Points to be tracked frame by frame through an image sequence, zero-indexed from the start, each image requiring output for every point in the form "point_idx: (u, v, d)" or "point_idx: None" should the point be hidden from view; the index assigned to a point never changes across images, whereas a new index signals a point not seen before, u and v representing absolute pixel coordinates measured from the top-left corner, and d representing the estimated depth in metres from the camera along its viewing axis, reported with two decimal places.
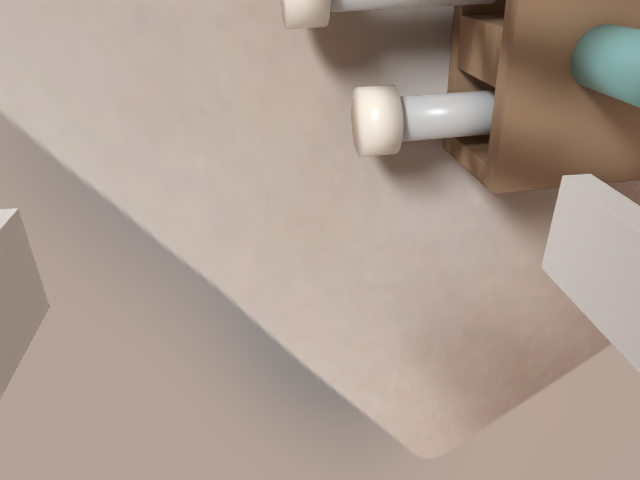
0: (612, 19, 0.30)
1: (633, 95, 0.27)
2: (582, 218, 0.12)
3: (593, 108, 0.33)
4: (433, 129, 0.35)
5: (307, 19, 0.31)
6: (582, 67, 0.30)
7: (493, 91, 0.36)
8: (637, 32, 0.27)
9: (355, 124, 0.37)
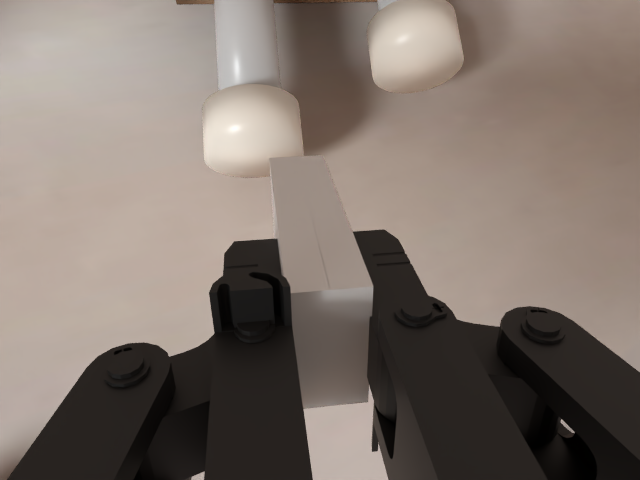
0: None
1: None
2: None
3: None
4: None
5: (289, 117, 0.24)
6: None
7: None
8: None
9: (419, 77, 0.28)
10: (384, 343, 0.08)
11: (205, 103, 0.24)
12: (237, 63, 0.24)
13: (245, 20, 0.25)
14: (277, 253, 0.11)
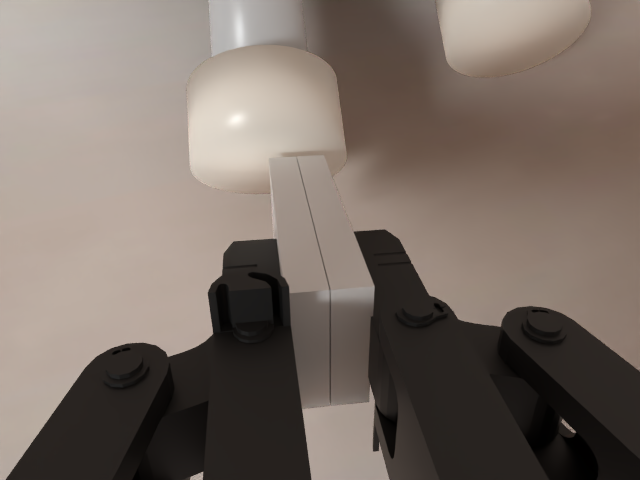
0: None
1: None
2: None
3: None
4: None
5: (326, 99, 0.15)
6: None
7: None
8: None
9: (515, 52, 0.18)
10: (386, 343, 0.08)
11: (190, 79, 0.15)
12: (240, 16, 0.15)
13: None
14: (276, 253, 0.11)
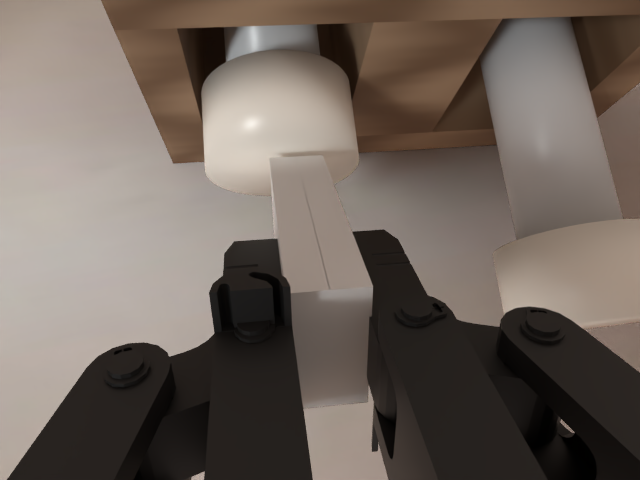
0: None
1: None
2: None
3: None
4: (592, 150, 0.15)
5: (339, 103, 0.15)
6: None
7: None
8: None
9: (585, 327, 0.16)
10: (385, 343, 0.08)
11: (206, 83, 0.15)
12: None
13: None
14: (277, 253, 0.11)
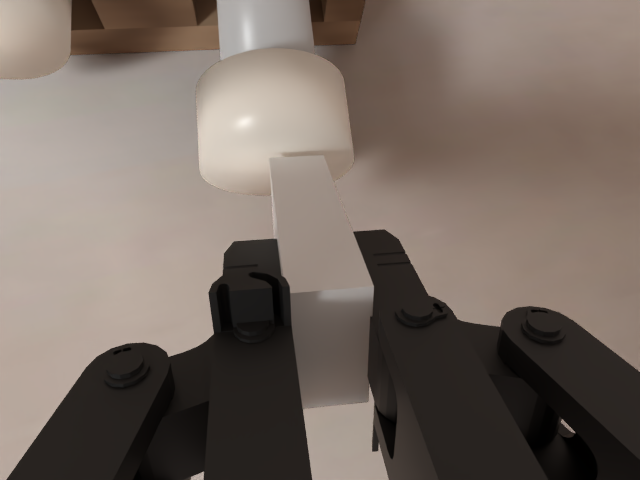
0: None
1: None
2: None
3: None
4: None
5: None
6: None
7: None
8: None
9: None
10: (385, 343, 0.08)
11: None
12: None
13: None
14: (277, 253, 0.11)
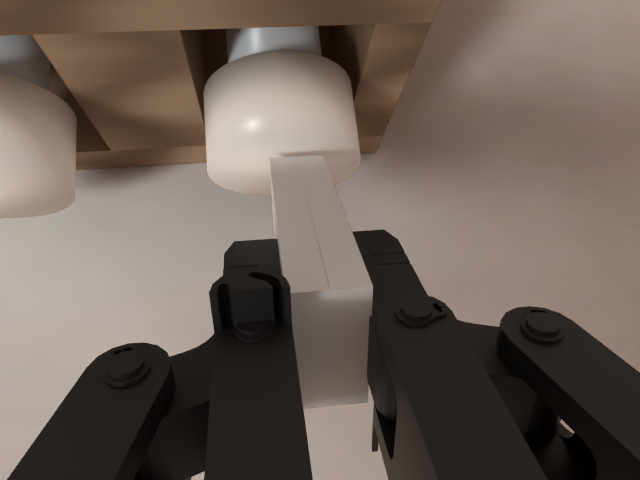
0: None
1: None
2: None
3: None
4: None
5: (24, 123, 0.14)
6: None
7: None
8: None
9: None
10: (385, 343, 0.08)
11: None
12: None
13: None
14: (277, 253, 0.11)
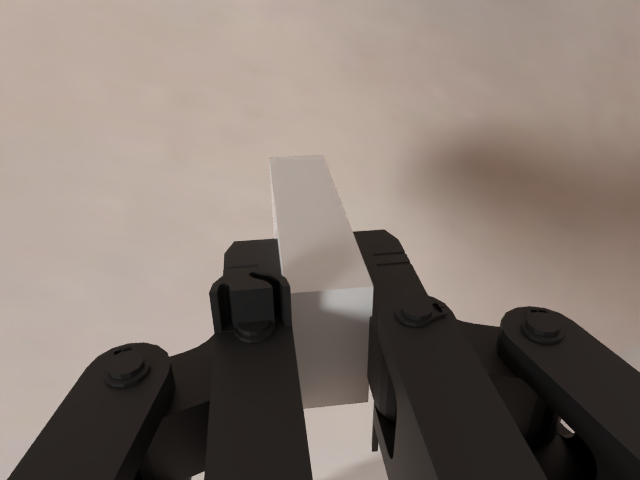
0: None
1: None
2: None
3: None
4: None
5: None
6: None
7: None
8: None
9: None
10: (384, 344, 0.08)
11: None
12: None
13: None
14: (277, 253, 0.11)
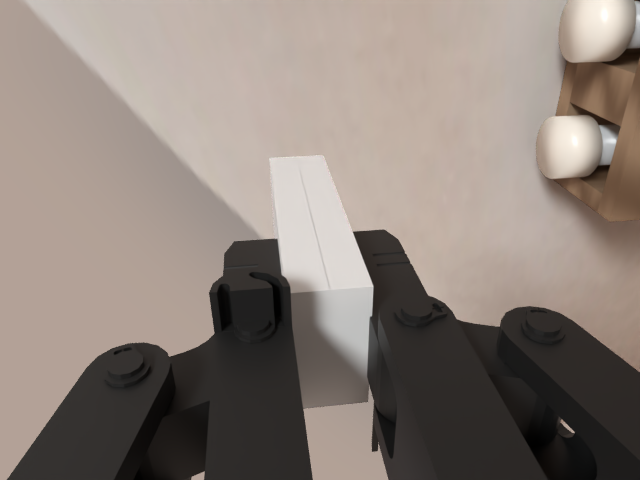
0: None
1: None
2: None
3: None
4: None
5: (602, 56, 0.35)
6: None
7: None
8: None
9: (545, 148, 0.40)
10: (384, 343, 0.08)
11: None
12: None
13: None
14: (277, 253, 0.11)
